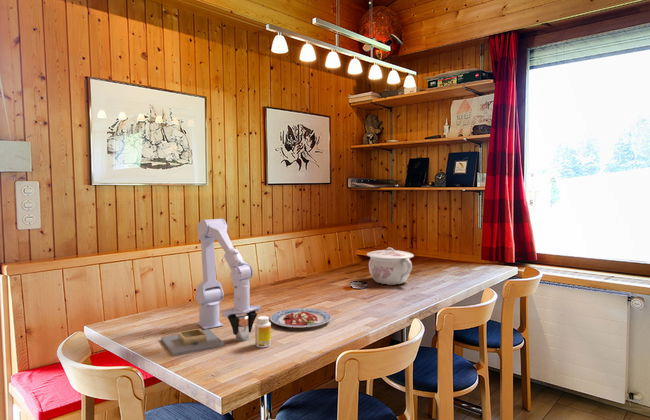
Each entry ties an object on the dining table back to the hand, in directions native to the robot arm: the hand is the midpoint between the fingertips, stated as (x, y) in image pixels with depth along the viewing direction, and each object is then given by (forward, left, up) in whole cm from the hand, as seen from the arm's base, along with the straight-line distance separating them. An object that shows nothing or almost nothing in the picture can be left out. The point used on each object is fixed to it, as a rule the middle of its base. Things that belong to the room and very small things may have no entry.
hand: (242, 332), depth 168 cm
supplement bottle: (+10, +4, -3) cm, 11 cm away
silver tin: (0, 0, -2) cm, 2 cm away
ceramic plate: (-7, +29, -3) cm, 30 cm away
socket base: (-6, -17, -2) cm, 18 cm away
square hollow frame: (-6, -17, -2) cm, 18 cm away
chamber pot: (-42, +108, -3) cm, 116 cm away
